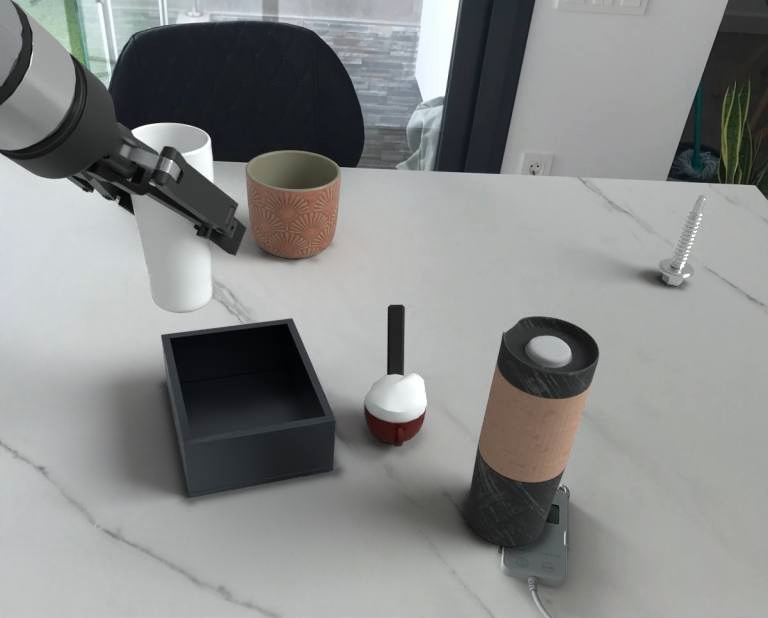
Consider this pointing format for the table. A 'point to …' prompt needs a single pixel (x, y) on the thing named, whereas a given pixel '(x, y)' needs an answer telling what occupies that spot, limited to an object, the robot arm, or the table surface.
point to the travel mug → (529, 427)
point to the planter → (293, 202)
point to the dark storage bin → (247, 406)
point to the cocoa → (396, 390)
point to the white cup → (175, 227)
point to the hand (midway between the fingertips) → (201, 229)
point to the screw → (683, 248)
